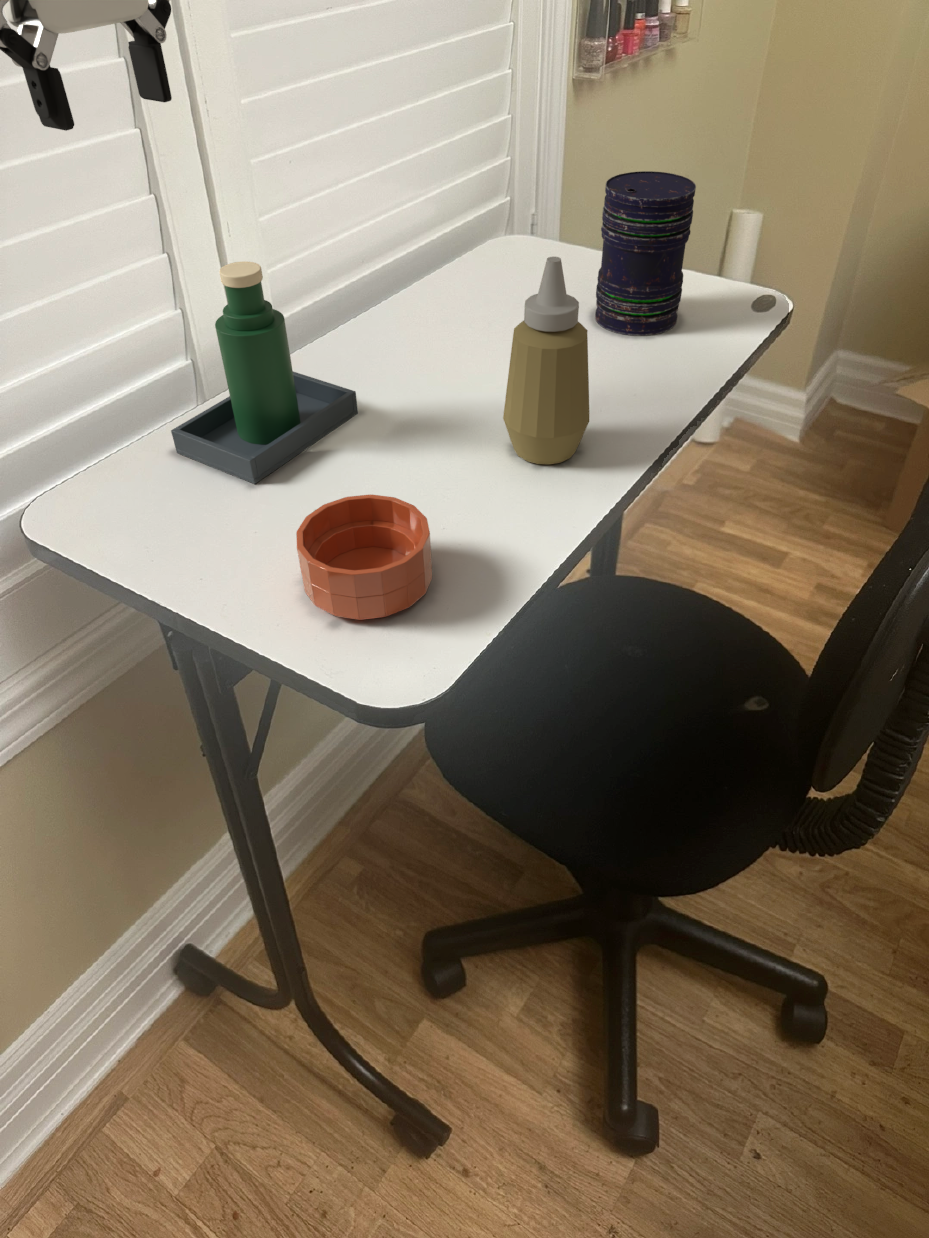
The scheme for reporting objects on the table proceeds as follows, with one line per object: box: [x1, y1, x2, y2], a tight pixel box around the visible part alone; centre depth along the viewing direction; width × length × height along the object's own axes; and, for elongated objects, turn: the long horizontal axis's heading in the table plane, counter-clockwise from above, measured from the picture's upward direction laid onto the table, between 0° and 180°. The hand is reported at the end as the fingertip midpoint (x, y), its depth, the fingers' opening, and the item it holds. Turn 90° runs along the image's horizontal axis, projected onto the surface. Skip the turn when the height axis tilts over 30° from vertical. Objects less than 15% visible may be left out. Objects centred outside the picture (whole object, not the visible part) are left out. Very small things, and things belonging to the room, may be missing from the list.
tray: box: [170, 371, 359, 485], centre depth 89 cm, size 15×10×2 cm
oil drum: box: [594, 170, 697, 337], centre depth 103 cm, size 10×10×15 cm
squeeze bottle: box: [502, 256, 590, 465], centre depth 80 cm, size 8×8×18 cm
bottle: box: [214, 260, 301, 445], centre depth 84 cm, size 6×6×16 cm
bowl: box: [296, 494, 433, 621], centre depth 70 cm, size 10×10×5 cm
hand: (109, 113), depth 71 cm, fingers open, 9 cm apart
